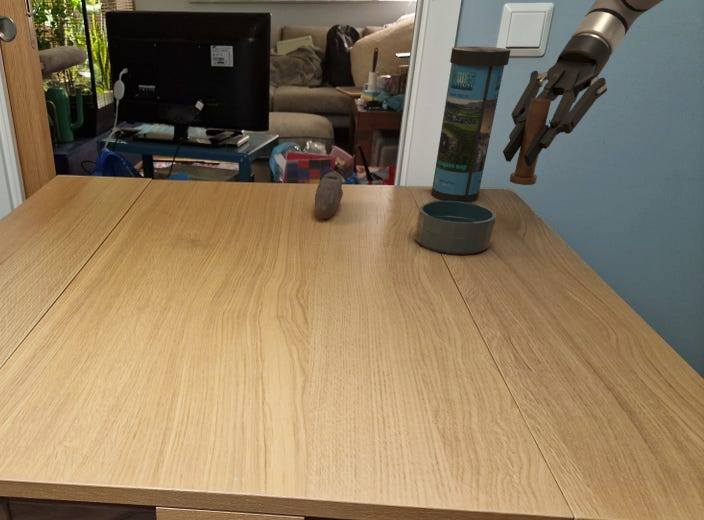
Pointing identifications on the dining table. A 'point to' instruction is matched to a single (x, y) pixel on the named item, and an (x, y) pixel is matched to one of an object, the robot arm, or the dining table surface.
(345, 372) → the dining table surface
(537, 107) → the muddler
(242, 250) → the dining table surface
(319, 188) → the perforated stone tool
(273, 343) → the dining table surface
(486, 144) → the advertising column
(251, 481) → the dining table surface
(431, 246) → the bowl
